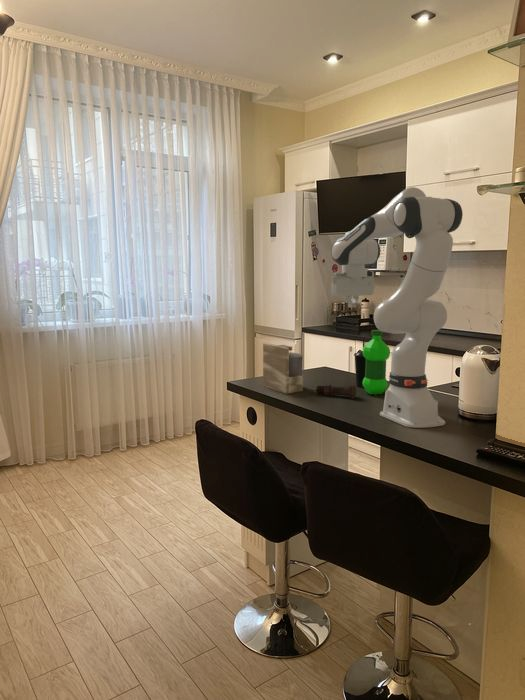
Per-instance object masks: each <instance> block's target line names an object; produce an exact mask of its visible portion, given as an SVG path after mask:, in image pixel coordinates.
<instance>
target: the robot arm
mask: <svg viewBox="0 0 525 700" xmlns="http://www.w3.org/2000/svg"><path fill="white" fill-rule="evenodd" d="M462 220H463V209H462V206H461V204H460V203H459V202H458V201H456V200H453V199H450V198H440V197H432V196H427V195H426V194H425V192H424V191H423V190H421V189H420V188H418V187H414V186H411V187H407V188H404V189H402V190H401V192H399V193H398V194H397V195H395V196H394V197H393V198H392V199H391V200H390V201H389V202H388V203H387V204H386V205H385V206H384V207H383V208H382V209H380V210H379V211H377V212H375V213H374V214H372V215H370V216H369V217H367V218H365V219H363V220H362V221H361V222H360V223H359V224H357V225H356V226H355V227H354V228H353V229H351V230H348V231H347V232H346V233H345V232H344V233H345V234H344V236H341V237H339V238H337V240H335V241H334V243H333V245H332V246H331V257H332V259H333V260H334V262H335V263H336V264H337V265H339V266H342V267H341V272H335V274H334V275H332V281H331V286H330V287H331V288H330V295H331V296H332V297H336V298H337V297H338V298H339V297H340V298H341V297H345V300H346V302H347V307H348V308H350V309H351V308H357V303H358V302H359V298H360V296H361V297H362V296H373V294H374V291H375V280H374V278H373V277H374V276H375V272H374V271H373V270H370V269H368V268H367V267H366V265H371V264H375V263H376V262H377V261H378V260H379V258H380V255H381V246H380V244H379V242H378V241H377V240H376V239H382V238H383V239H385V238H395V237H399V236H401V235H403V234H404V235H405V237H406V238H407V239H412V238H415V242H416V244H415V249H414V251H413V254H412V256H411V259H410V262H409V265H408V266H409V267H407V271H406V274H405V276H404V278H403V280H402V282H401V283H400V285H399V286H398V288H397V289H396V290H395V291H394V293H393V294H391V296H389V297H388V298H387V299H385V300H384V301H382V302H380V303H379V304H378V305H377V306H376V308H375V310H374V313H373V322H374V324H375V327H376V328H377V330H380V331H382V332H383V333H387V334H392V335H393V334H394V335H395V334H396V335H398V334H405V336H404V337H403V339H402V341H400V343H398V344H396V346H395V347H394V348H393V349H392V352H391V362H390V363H391V366H390V372H389V376H388V384H389V385H388V387H387V389H386V390H385V391H384V393H385V394H384V400H383V401H384V402H383V410H381V411H379V416H381V417H383V418H385V419H388V420H390V421H392V422H395V423H397V424H399V425H402V426H404V427H405V428H414V429H415V428H419V429H421V428H435V427H440V426H445V425H446V421H445V420H444V419H443V418H442V417H441V416H440V415H439V409H438V407H439V401H438V400H437V399H436V400H435V399H434V397H433V395H432V393H431V392H430V390H429V388H428V381H429V380H428V379H427V374H426V361H427V353H428V349H429V346H430V344H431V342H432V340H433V338H434V337H435V335H436V334H437V333H438V332H439V331H440V330H441V329H443V327H445V325H446V324H447V323H446V322H447V319H448V312H447V308H446V307H445V305H444V304H443V303H442V302H441V301H439V300H438V301H437V300H432V299H429V298H430V297H431V298H432V296H434V295H435V294H436V293H438V291H439V290H440V288H441V285H442V282H443V280H444V278H445V274H446V272H447V269H448V265H449V262H450V259H451V256H452V251H453V245H454V239H453V236H452V234H451V233H452V232H455V231H456V230H457V229H459V227H460V226H461V224H462ZM352 299H353V300H352Z"/></svg>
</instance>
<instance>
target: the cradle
mask: <svg viewBox="0 0 525 700" xmlns="http://www.w3.org/2000/svg"><path fill="white" fill-rule="evenodd" d="M290 351H293V346H291V345H287V344H280V345H279V344H277V345H276V344H272V343H268V342H263V343H262V371H263V372H262V386H263V387H265V388H267V389H271V390H273V391H276V392H279V393H281V394H285V395H289V394H291V393H298V392H303V391H304V386H303V385H304V376H303V375H302V376H294V377H289V353H290Z"/></svg>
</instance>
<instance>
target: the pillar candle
mask: <svg viewBox="0 0 525 700" xmlns="http://www.w3.org/2000/svg"><path fill="white" fill-rule="evenodd" d="M291 351H292V350H291ZM291 351H289V377H294V376H303V354H302V353H298V352H297V353H296V352H291Z"/></svg>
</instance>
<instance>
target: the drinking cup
mask: <svg viewBox="0 0 525 700" xmlns="http://www.w3.org/2000/svg"><path fill="white" fill-rule="evenodd" d="M365 341H366V339H365V338H362V348H363V347H364V346H365V345H366V344H365ZM353 356H354V369H355V381H356V382H355V384H356V385H355V387H356V388H360V387H363V379H364V378H365V368H366V358H365V357H364V356H363V350H360V351H357V352H355V353H354V354H353Z"/></svg>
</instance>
